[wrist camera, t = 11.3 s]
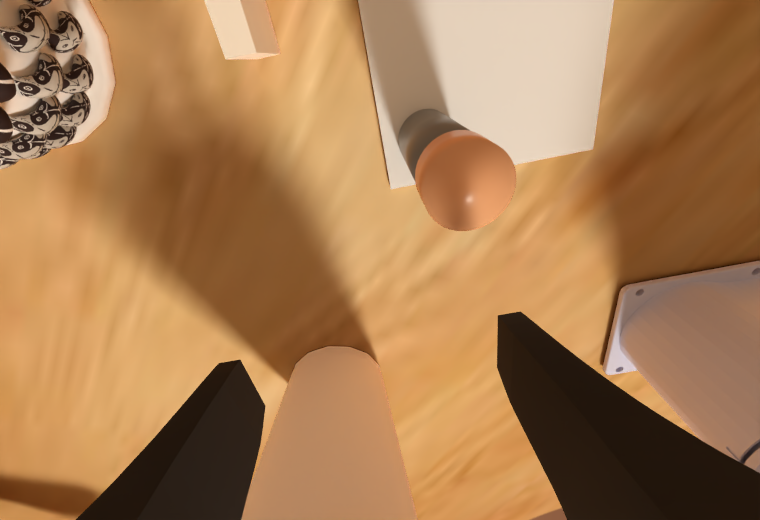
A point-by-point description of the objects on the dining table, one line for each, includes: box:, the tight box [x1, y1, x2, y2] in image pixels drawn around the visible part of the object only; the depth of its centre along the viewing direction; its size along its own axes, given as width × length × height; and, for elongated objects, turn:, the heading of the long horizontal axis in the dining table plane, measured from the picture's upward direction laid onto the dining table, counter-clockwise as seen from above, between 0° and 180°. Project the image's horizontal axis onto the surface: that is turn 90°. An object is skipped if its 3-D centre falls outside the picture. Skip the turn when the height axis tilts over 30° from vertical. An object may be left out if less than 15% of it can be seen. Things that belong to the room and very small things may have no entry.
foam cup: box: [241, 346, 418, 520], centre depth 19 cm, size 10×9×13 cm
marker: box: [398, 109, 516, 231], centre depth 13 cm, size 3×3×7 cm
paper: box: [358, 0, 614, 189], centre depth 15 cm, size 10×8×1 cm
